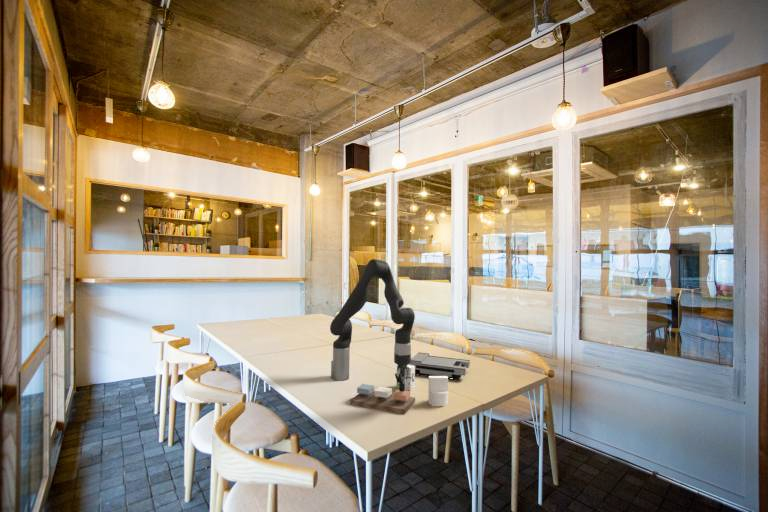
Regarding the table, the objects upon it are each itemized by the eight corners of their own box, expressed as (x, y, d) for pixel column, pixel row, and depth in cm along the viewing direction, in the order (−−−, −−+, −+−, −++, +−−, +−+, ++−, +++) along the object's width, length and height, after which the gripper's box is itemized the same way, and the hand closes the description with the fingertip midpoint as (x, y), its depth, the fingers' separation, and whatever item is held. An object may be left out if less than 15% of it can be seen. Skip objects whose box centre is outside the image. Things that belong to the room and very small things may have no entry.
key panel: (350, 404, 163) (350, 396, 163) (364, 393, 177) (364, 386, 177) (404, 414, 153) (404, 406, 153) (415, 401, 167) (415, 394, 167)
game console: (464, 382, 197) (464, 367, 197) (408, 374, 209) (408, 360, 209) (469, 371, 217) (469, 358, 217) (418, 365, 228) (418, 352, 228)
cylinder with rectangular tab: (445, 399, 171) (446, 374, 171) (449, 406, 162) (450, 380, 162) (426, 399, 171) (427, 373, 171) (429, 406, 162) (430, 380, 162)
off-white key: (374, 395, 164) (374, 390, 164) (379, 391, 169) (379, 386, 169) (386, 398, 161) (387, 392, 161) (391, 393, 167) (391, 388, 167)
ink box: (395, 388, 185) (396, 365, 186) (400, 385, 190) (401, 363, 190) (410, 391, 181) (411, 368, 181) (415, 388, 185) (415, 365, 185)
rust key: (393, 399, 160) (393, 393, 160) (397, 394, 166) (397, 389, 166) (405, 401, 158) (406, 395, 158) (410, 396, 163) (410, 391, 163)
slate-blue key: (357, 392, 167) (357, 387, 167) (362, 388, 172) (362, 383, 173) (368, 394, 165) (368, 389, 165) (374, 390, 170) (374, 385, 170)
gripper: (399, 348, 170) (399, 385, 169) (389, 354, 157) (388, 394, 157) (414, 350, 167) (414, 387, 166) (405, 356, 155) (405, 397, 154)
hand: (402, 391), depth 162 cm, fingers closed
